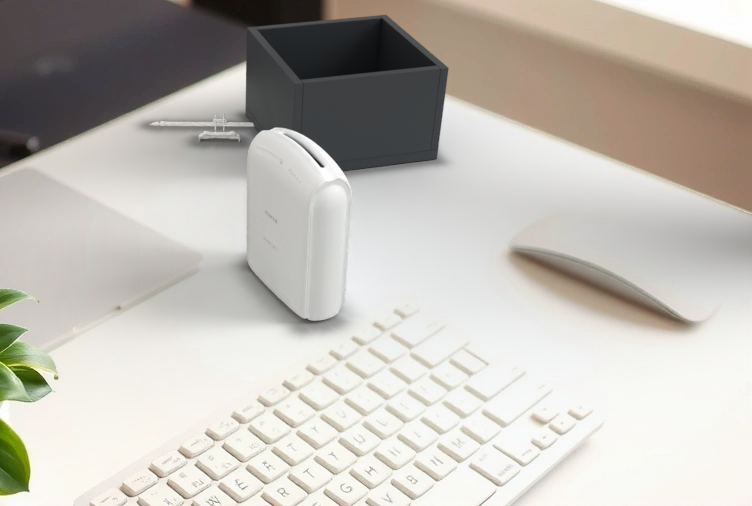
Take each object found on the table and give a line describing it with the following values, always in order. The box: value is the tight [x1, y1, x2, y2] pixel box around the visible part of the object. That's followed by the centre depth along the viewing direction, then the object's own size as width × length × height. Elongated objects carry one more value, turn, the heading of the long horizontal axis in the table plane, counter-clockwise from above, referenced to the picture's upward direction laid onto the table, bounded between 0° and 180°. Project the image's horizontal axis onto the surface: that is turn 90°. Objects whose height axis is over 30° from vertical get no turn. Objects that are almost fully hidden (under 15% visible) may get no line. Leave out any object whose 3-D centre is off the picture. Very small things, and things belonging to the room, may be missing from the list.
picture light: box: [149, 113, 255, 143], centre depth 106 cm, size 14×4×2 cm, turn 90°
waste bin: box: [245, 14, 450, 172], centre depth 103 cm, size 15×15×9 cm
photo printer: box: [246, 128, 353, 322], centre depth 80 cm, size 10×4×12 cm, turn 27°
